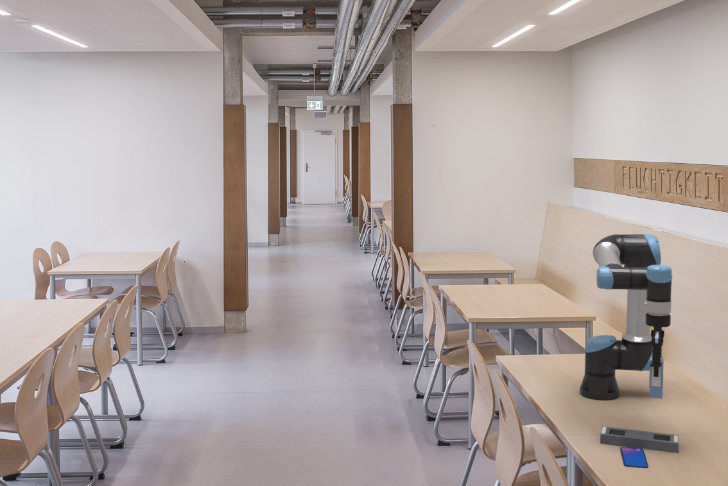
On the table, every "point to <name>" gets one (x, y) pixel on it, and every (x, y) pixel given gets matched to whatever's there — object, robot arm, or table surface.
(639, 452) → the smartphone
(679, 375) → the table surface
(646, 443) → the panel
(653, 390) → the plug
